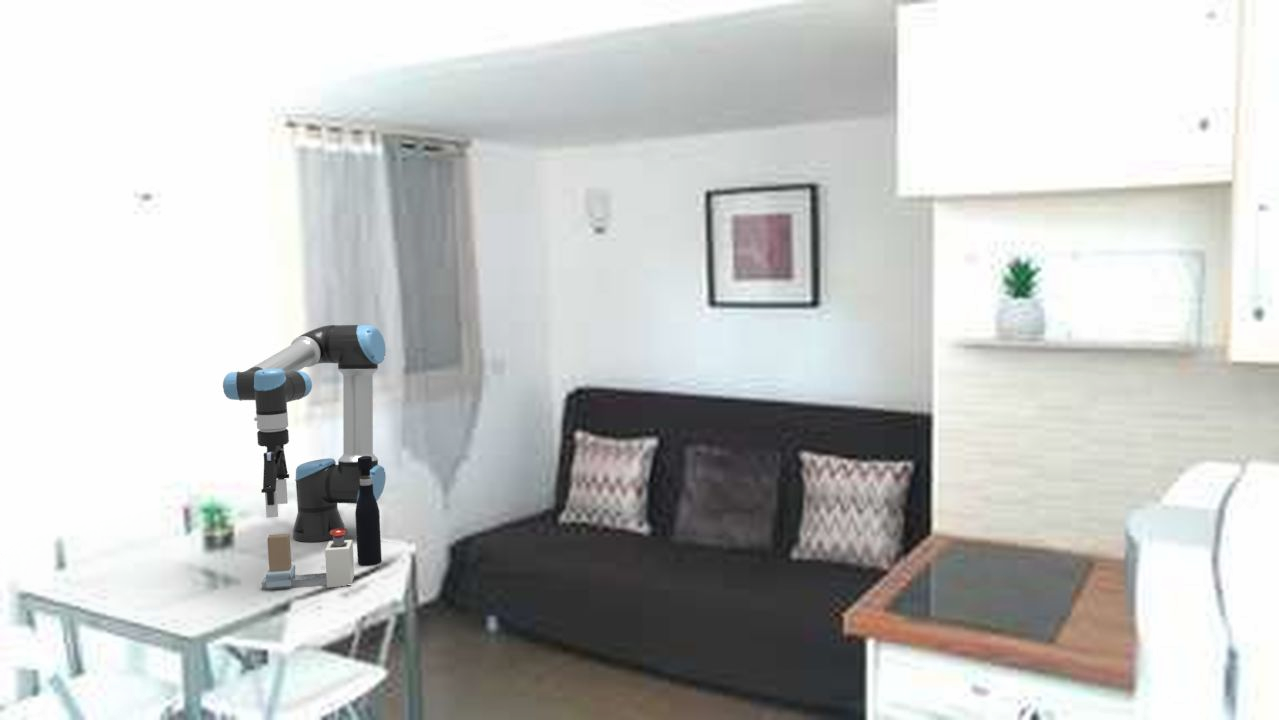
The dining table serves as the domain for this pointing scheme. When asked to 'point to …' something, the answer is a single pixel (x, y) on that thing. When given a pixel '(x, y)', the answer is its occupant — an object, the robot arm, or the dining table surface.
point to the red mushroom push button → (338, 537)
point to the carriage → (279, 561)
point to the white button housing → (339, 564)
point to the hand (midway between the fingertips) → (277, 510)
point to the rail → (302, 581)
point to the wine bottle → (367, 518)
